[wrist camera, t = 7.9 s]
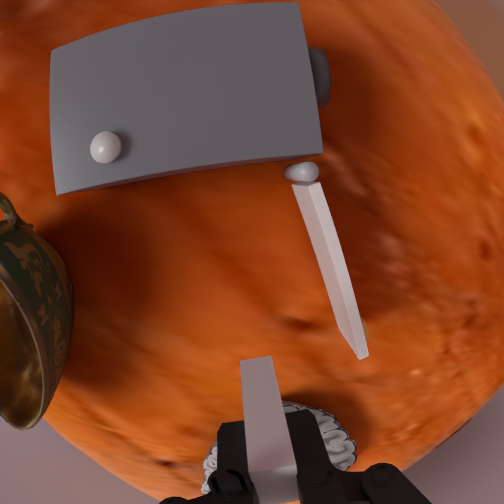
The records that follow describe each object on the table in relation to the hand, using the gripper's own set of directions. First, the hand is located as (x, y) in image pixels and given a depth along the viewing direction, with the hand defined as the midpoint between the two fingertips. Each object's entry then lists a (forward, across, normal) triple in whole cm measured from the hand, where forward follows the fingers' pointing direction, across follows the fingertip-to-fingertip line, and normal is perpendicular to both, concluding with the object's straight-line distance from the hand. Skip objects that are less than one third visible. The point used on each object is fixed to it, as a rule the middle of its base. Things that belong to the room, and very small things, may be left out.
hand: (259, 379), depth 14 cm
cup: (+12, -20, +2) cm, 23 cm away
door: (+11, +7, +3) cm, 13 cm away
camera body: (+12, -2, +15) cm, 19 cm away
